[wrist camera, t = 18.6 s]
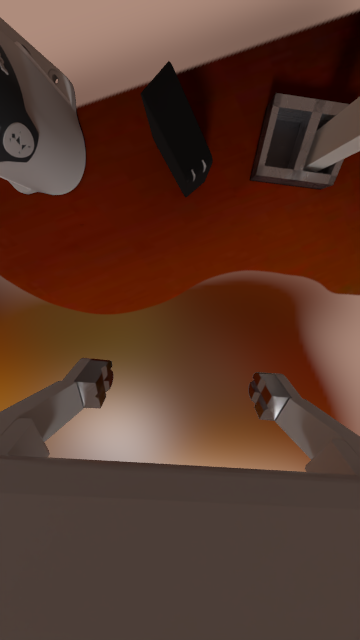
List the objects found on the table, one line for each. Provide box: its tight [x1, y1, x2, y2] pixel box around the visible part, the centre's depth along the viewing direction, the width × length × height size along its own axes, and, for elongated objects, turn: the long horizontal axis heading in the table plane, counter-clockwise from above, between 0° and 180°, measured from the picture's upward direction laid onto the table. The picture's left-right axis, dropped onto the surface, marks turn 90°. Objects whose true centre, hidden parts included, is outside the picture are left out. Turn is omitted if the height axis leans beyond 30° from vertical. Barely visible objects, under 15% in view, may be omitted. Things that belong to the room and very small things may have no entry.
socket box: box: [250, 93, 350, 189], centre depth 26 cm, size 9×14×3 cm, turn 84°
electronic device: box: [141, 62, 212, 197], centre depth 24 cm, size 4×10×10 cm, turn 35°
